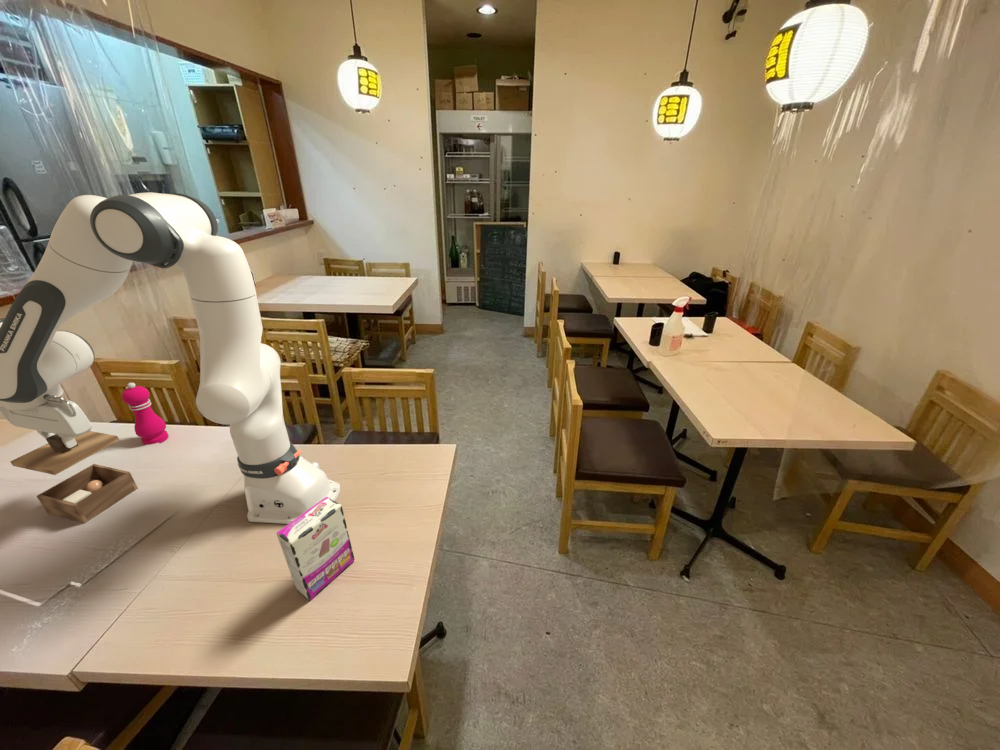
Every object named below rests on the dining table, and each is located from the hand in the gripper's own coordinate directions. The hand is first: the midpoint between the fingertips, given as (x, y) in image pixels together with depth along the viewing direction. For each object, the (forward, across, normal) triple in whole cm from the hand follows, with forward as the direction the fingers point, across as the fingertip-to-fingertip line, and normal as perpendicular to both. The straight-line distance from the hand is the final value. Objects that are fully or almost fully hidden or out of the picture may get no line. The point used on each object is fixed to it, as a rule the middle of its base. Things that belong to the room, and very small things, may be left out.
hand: (64, 444), depth 92 cm
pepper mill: (+18, +12, -24) cm, 32 cm away
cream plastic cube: (+17, +1, +3) cm, 17 cm away
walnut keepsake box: (+18, +1, 0) cm, 18 cm away
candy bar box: (+20, -67, +3) cm, 70 cm away
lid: (+2, 0, 0) cm, 2 cm away
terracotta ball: (+17, +4, -2) cm, 17 cm away
